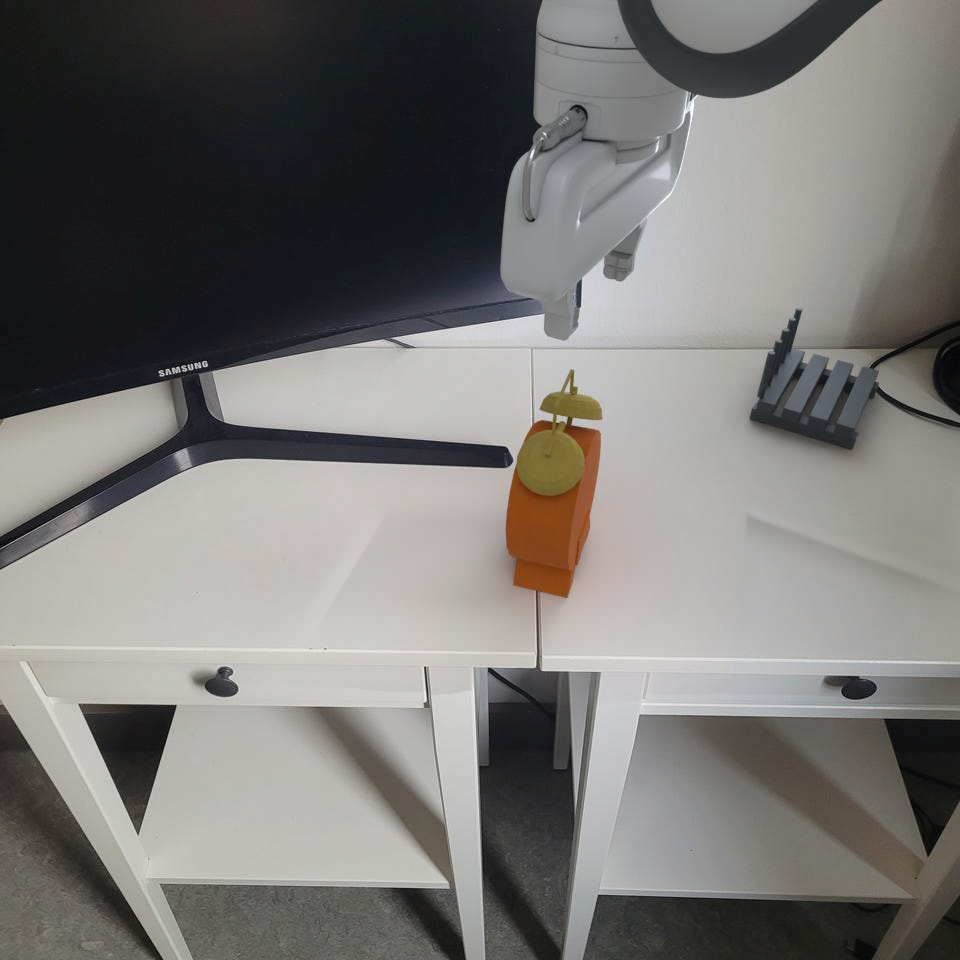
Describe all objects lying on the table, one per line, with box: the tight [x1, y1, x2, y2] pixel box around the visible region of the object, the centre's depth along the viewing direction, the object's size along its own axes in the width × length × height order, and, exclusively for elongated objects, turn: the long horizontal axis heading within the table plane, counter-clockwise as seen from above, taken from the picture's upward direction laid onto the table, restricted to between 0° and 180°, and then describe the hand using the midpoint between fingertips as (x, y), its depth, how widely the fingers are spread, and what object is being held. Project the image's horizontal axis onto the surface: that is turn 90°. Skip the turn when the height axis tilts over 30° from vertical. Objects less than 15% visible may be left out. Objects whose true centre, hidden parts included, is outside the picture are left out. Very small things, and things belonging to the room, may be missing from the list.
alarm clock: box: [505, 368, 603, 599], centre depth 75 cm, size 13×6×20 cm, turn 162°
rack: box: [749, 307, 880, 450], centre depth 98 cm, size 12×14×9 cm
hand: (590, 303), depth 56 cm, fingers open, 8 cm apart
